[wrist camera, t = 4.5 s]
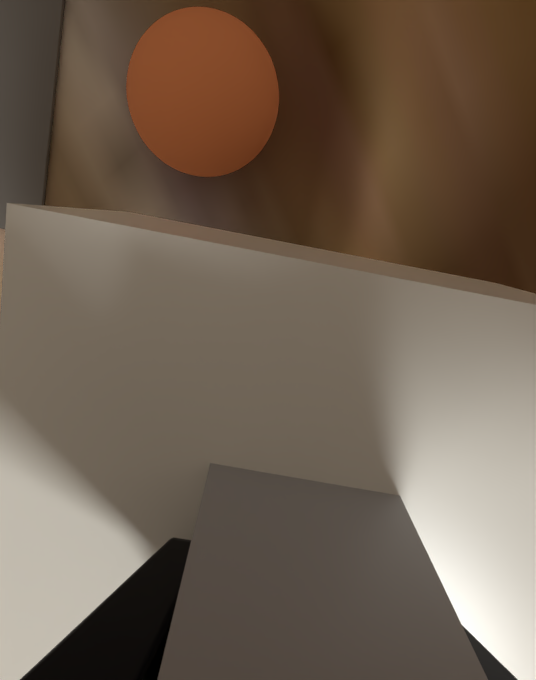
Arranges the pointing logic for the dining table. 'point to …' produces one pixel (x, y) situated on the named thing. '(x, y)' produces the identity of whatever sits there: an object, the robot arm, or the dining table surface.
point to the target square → (27, 97)
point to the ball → (202, 91)
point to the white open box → (264, 450)
